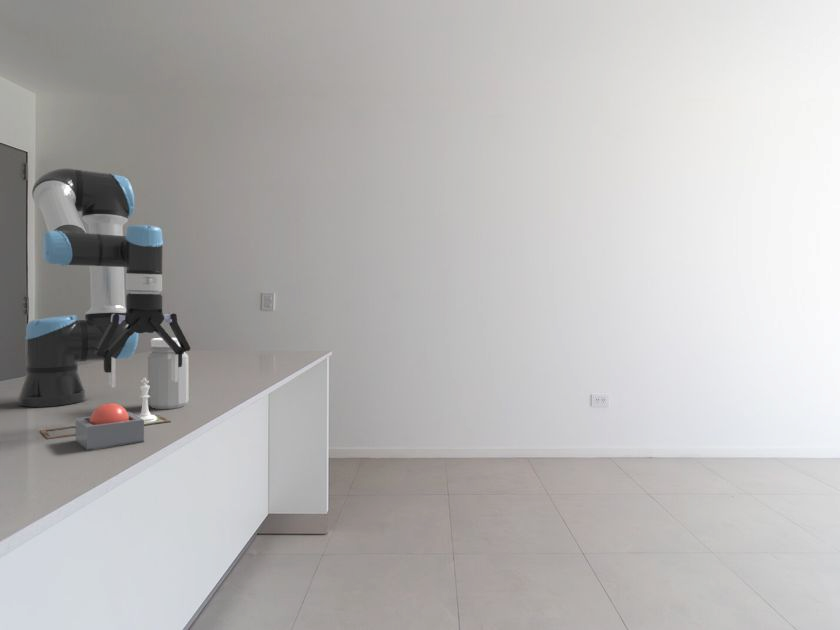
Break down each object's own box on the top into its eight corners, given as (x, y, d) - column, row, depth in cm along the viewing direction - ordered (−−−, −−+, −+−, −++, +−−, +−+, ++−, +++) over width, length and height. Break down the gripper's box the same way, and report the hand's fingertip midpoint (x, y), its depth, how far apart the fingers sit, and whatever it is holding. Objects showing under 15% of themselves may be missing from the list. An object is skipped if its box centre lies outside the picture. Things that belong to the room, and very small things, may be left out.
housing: (75, 440, 113) (75, 418, 113) (129, 432, 120) (129, 411, 120) (87, 450, 106) (87, 427, 105) (143, 441, 112) (143, 419, 112)
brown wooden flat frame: (40, 431, 120) (40, 430, 120) (158, 415, 136) (158, 414, 136) (47, 439, 114) (47, 438, 114) (170, 421, 130) (170, 421, 130)
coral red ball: (85, 437, 113) (85, 403, 113) (123, 432, 118) (123, 399, 117) (94, 444, 108) (93, 408, 108) (133, 438, 112) (133, 404, 112)
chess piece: (146, 423, 127) (146, 380, 127) (128, 422, 128) (128, 379, 128) (161, 418, 132) (161, 376, 132) (143, 417, 133) (143, 375, 133)
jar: (140, 409, 144) (139, 339, 143) (162, 402, 154) (161, 336, 153) (175, 410, 143) (175, 340, 142) (195, 403, 153) (195, 337, 152)
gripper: (86, 292, 118) (87, 391, 119) (204, 293, 135) (203, 380, 136) (79, 291, 124) (79, 386, 125) (192, 292, 140) (192, 376, 142)
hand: (144, 383), depth 130 cm, fingers open, 13 cm apart
